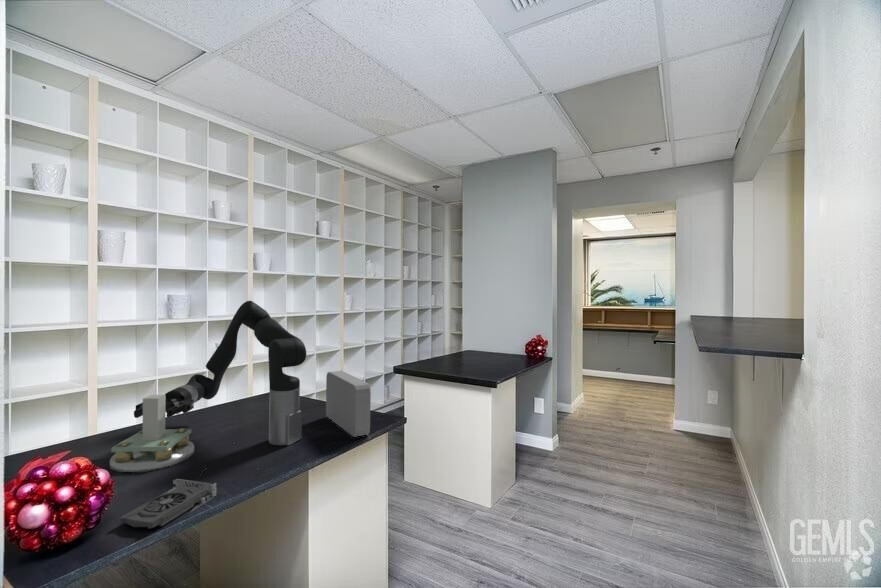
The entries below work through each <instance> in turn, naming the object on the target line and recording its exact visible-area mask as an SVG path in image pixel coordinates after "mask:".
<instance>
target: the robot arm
mask: <svg viewBox="0 0 881 588" xmlns="http://www.w3.org/2000/svg"><path fill="white" fill-rule="evenodd" d="M242 325H244V326H245V327H247V328H249V329H250V330H252V331H253V333H254V337H255V338H256V340H257V341H258V342H259V343H260V344H261V345H262V346H264V347H266V348H268V349H267V351H268V379H269V380H268V381H269V399H268V400H269V402H268V405H269V406H268V407H269V410H268V411H269V412H268V443H269V444H270V445H272V446H290V445H292V444H294V442H295V443H296V441H297V442H298V440H299V441H301V440H302V438H303V437H302V436H303V435H302V431H303V430H302V429H303V428H302V426H303V423H302V421H303V419H302V418H303V411H302V410H300V398H301V397H300V390H301V389H300V388H301V384H300V382H301V381H300V379H299V377H297V376H293V375H289V374H286V373H285V372H283V369H284V368H290V367H298V366H300V365H302V364H303V363H305V361H306V358H307V349H306V346H305V343H304V342H303V340H302V339H300V338H299V337H297V336H295V335H293V334H292V333H290V332H289V331H288V330H287V329H286V328H284V327H283V326H282V325H281V324H280V323H279V322H278V321H277V320H275V319H274V318H272V317H271V316H270V314H269V313H268V311H267V310H266V309H264V308H263V307H261V306H260V305H258V304H257V303H256V302H254V301H252V300H246V301H245V302H243V303H242V304H241V305H240V306H239V307H238V309H237V311H236V312H235V313H234V316H233V318H232V320H231V321H230V324H229V325H228V327H227V329H226V331H225V334H224V335H223V338H222V340H221V341H220V343H219V345H218V346H217V348H216V350H215V351H214V352H213V353H212V355H211V356H210V358H209V360H208V361H206V362H207V363H206V364H205V368H206V369H207V370H208V371H209V372H211V373H212V374H213V379H212V378H210V377H208V376H206V375H203V374H199V373H197V374H196V373H195V374H194V375H192V376H191V377H190V378H189V379H188V382H187V383H186V384H182V385H180V386H177V387H175V388H174V389H171V390H170V391H168V392H166V393H165V394H164V395H166V402H165V413H166V418H171V417H173V416H175V415H179V414H180V413H181V412H182V414H187V413H188V412H190V411H192V410H193V409H194V407H195V406H194V404H195V403H197V402H198V401H200V400H202V399H204V400H211V399H213V398H214V397H216V396H217V394H218V393H219V390H220V387H221V383H222V380H223V377H224V375H225V373H226V371H227V370H228V369H229V367H230V365H231V364H232V362H233V360H234V359H235V358H236V357H235V356H236V353H237V348H238V333H239V330H240V328H241V326H242ZM133 417H134V418H136V419H139V418H141V417H143V402H141V403H138V404H136V405H135V410H133ZM300 439H301V440H300Z"/></svg>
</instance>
